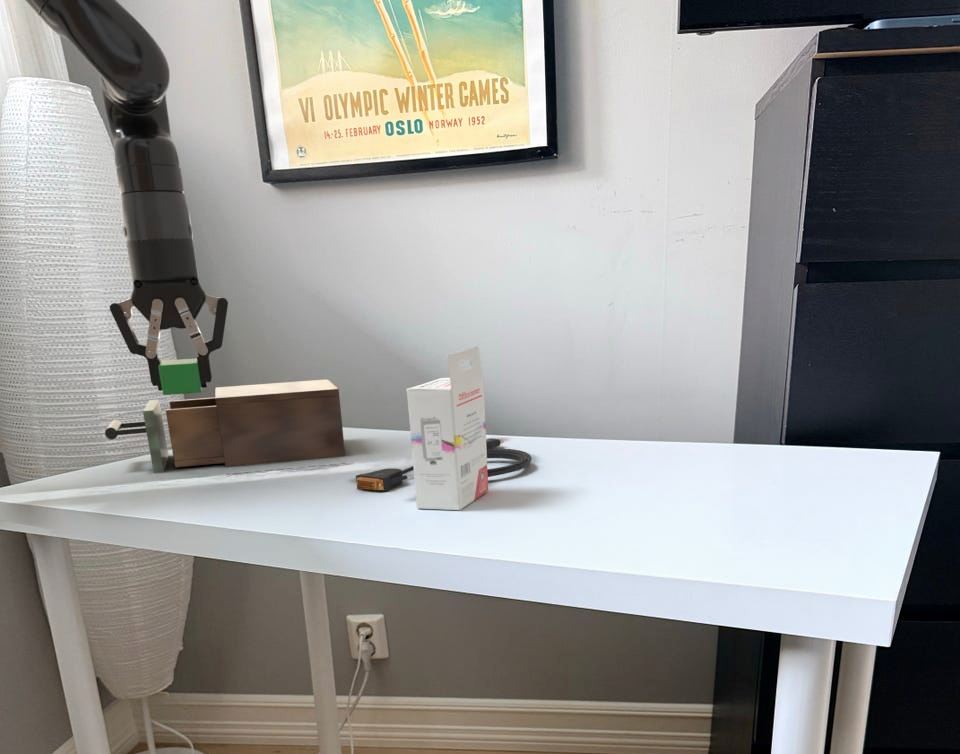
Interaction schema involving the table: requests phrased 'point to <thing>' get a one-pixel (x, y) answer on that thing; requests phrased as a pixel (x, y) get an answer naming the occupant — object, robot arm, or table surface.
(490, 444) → the cable
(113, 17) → the robot arm
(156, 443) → the drawer
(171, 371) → the green rectangular block
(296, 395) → the cabinet
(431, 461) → the ink cartridge box
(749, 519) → the table surface
